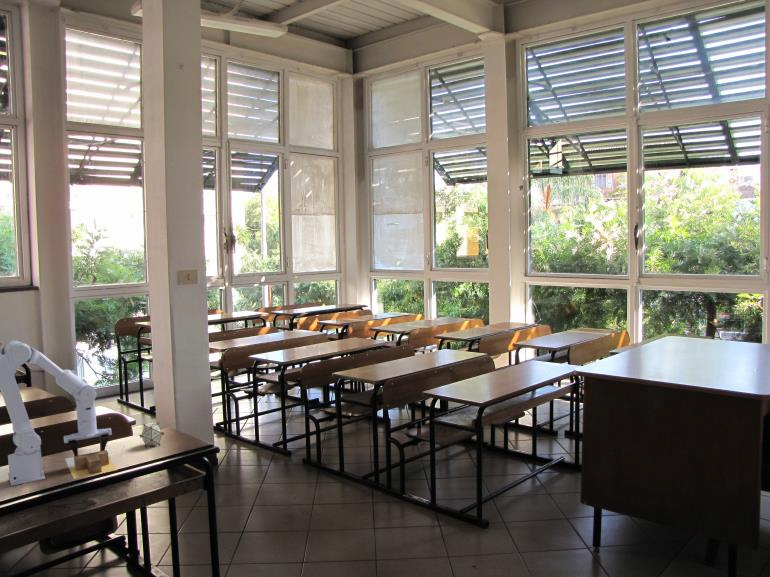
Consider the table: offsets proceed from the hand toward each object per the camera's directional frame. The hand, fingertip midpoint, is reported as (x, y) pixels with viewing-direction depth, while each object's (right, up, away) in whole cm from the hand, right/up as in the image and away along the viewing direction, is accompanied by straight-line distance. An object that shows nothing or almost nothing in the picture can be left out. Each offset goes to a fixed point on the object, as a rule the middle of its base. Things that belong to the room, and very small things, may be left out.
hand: (89, 459), depth 220 cm
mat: (0, -2, 0) cm, 2 cm away
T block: (+4, -2, -6) cm, 7 cm away
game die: (+15, 0, +18) cm, 23 cm away
